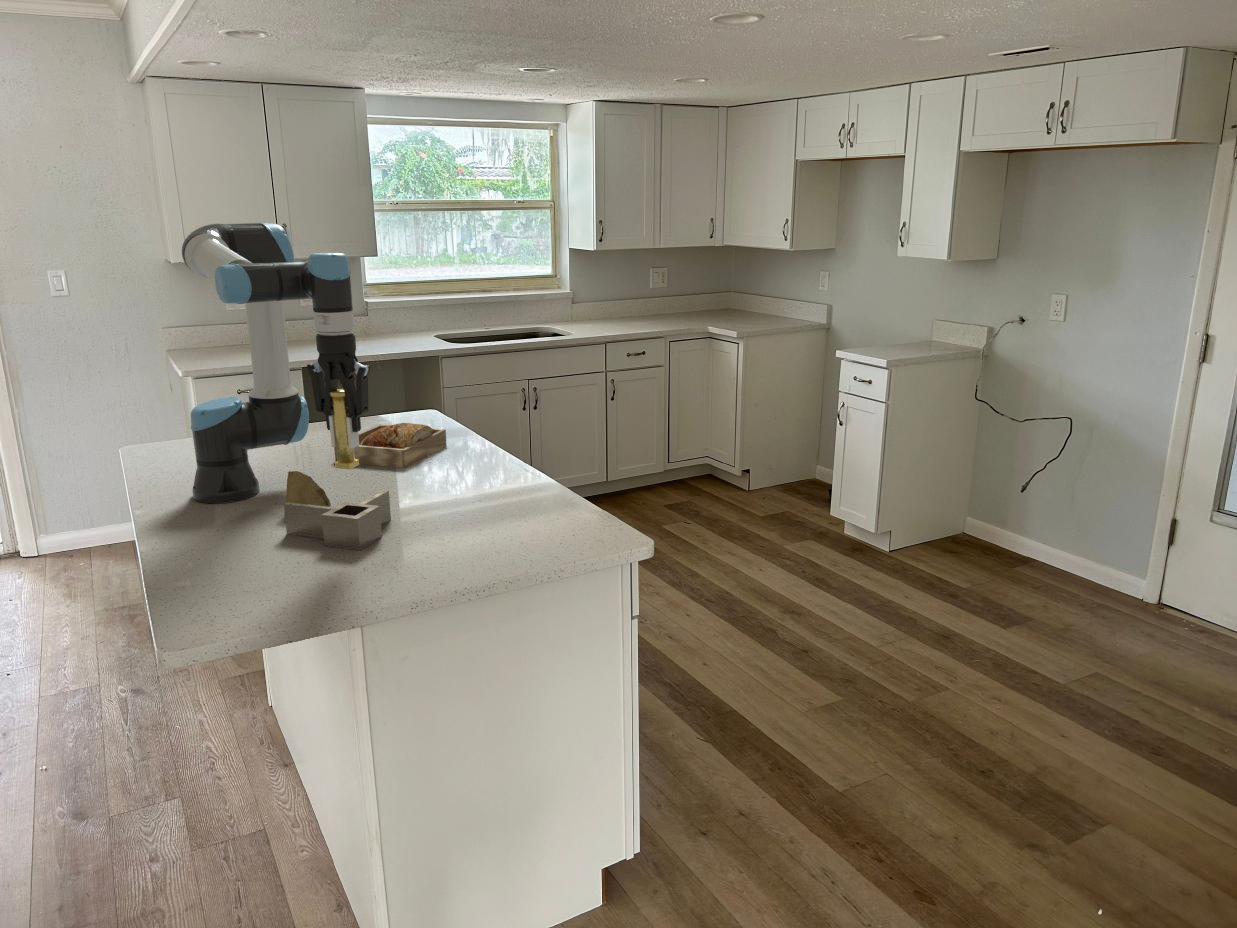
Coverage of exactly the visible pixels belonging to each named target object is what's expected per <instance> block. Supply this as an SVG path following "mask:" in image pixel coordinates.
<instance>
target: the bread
mask: <svg viewBox="0 0 1237 928" xmlns="http://www.w3.org/2000/svg"><path fill="white" fill-rule="evenodd" d="M389 425H390V426H386V427H383V428H381V429H379V430H377V431H375V432H373V433H371V434H369V435H368V436H367V437H366V438H365V439H364V440H362V442H361V444H360V445H362V446H373V447H385V448H397V449H404V448H406V447H408V446H410V445H412V444H414V443H416V442H418V441H420V440H422V439H424V438H426V437H428V436H430V435H432V434H433V431H432V427H431V426H429V425H427V424H420V423H419V424H418V423H412V422H411V423H410V422H401V423H395V424H389Z"/></svg>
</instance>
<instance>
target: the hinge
mask: <svg viewBox="0 0 1237 928" xmlns="http://www.w3.org/2000/svg"><path fill="white" fill-rule="evenodd" d="M390 502H391V500H390V490H387V489H383V490H381V491H379V492H378V493H376V494H374V495H373V496H371V497H369V498H367V499H365V500H364V501H362V502H359V503H355V502H346V501H345V502H343V503H341V504H339V505H337V506H336V507H333V506H329V507H326V506H316V505H307V504H298V503H289V502H287V503H286V502H285V503H283V512H284V518H285V519H284V520H285V531H286V535H290V536H297V537H298V536H299V537H305V538H313V539H314V538H315V539H323V542H324V547H327V548H337V549H343V550H344V549H345V550H351V551H362V550H364V549H365V548H366V547H368V546H370V545H371V544H373V543H375V542H376V541H378V540H379V539H380V538H382V537H383V533H382V526H383V525H385V524H386V523H388V522H389V521H392V517H391V503H390Z"/></svg>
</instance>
